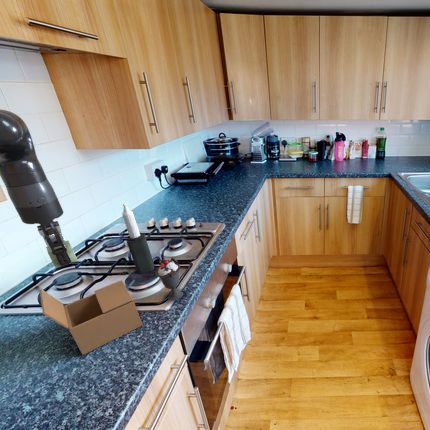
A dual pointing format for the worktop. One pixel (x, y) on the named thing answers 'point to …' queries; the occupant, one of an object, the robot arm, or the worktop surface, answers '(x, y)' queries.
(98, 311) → the carton
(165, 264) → the sundae
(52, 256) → the block
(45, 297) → the carton flap
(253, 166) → the worktop surface
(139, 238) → the candle
